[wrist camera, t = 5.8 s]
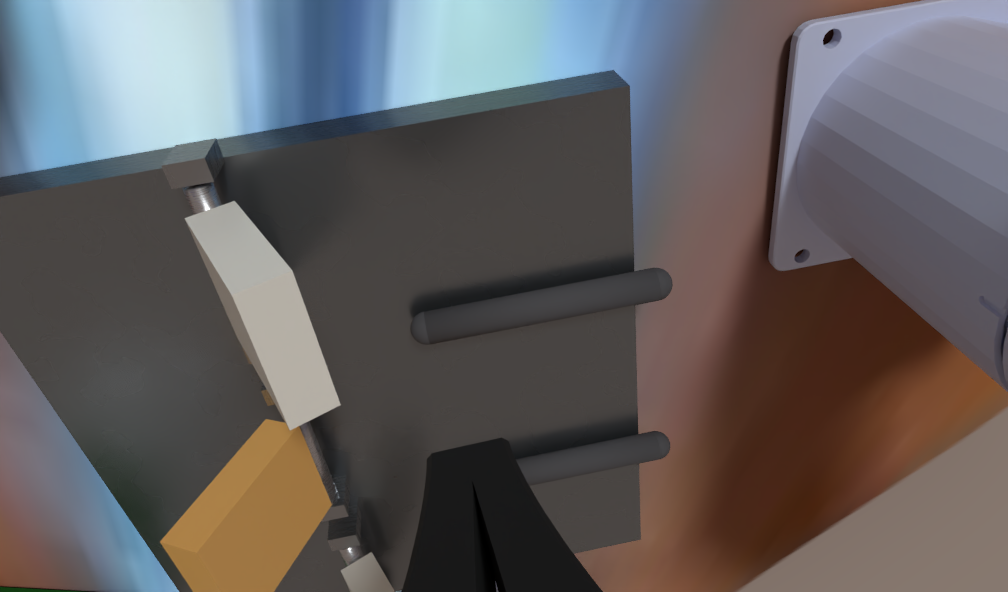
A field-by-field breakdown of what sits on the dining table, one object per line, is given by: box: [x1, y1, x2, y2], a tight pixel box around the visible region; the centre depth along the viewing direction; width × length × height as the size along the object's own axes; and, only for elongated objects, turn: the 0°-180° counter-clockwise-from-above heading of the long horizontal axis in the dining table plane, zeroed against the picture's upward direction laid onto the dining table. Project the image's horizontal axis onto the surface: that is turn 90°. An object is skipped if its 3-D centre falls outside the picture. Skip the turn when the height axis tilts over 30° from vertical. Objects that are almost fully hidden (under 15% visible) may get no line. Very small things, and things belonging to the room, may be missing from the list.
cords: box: [410, 268, 672, 486], centre depth 22 cm, size 8×8×1 cm
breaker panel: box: [0, 70, 641, 592], centre depth 22 cm, size 18×20×3 cm
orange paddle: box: [160, 419, 332, 592], centre depth 19 cm, size 1×4×4 cm, turn 7°
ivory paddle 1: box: [185, 201, 341, 430], centre depth 16 cm, size 1×4×4 cm, turn 8°
